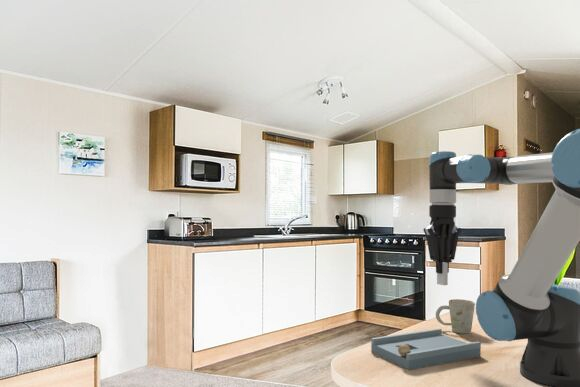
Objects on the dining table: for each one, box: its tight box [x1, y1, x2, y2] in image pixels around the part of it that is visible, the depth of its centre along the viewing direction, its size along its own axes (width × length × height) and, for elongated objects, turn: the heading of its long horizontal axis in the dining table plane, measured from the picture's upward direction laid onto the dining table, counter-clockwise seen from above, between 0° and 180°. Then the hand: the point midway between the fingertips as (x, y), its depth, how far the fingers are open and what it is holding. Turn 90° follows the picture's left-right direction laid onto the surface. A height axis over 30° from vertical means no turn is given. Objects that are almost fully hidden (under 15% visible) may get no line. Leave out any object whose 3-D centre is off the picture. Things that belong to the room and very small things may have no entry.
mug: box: [435, 298, 476, 335], centre depth 160 cm, size 8×13×10 cm, turn 79°
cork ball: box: [398, 344, 411, 357], centre depth 125 cm, size 3×3×3 cm
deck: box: [370, 328, 482, 371], centre depth 135 cm, size 16×26×4 cm, turn 117°
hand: (442, 284), depth 139 cm, fingers closed
